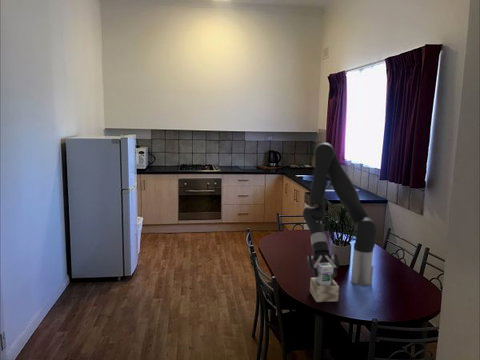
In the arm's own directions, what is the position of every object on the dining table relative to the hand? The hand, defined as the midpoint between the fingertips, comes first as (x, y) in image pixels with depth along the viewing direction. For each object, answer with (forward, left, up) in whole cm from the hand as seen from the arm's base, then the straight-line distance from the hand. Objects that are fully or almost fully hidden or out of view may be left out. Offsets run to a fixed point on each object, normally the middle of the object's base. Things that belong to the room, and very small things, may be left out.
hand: (326, 276), depth 175 cm
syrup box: (0, -2, -9) cm, 9 cm away
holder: (0, -1, -10) cm, 10 cm away
